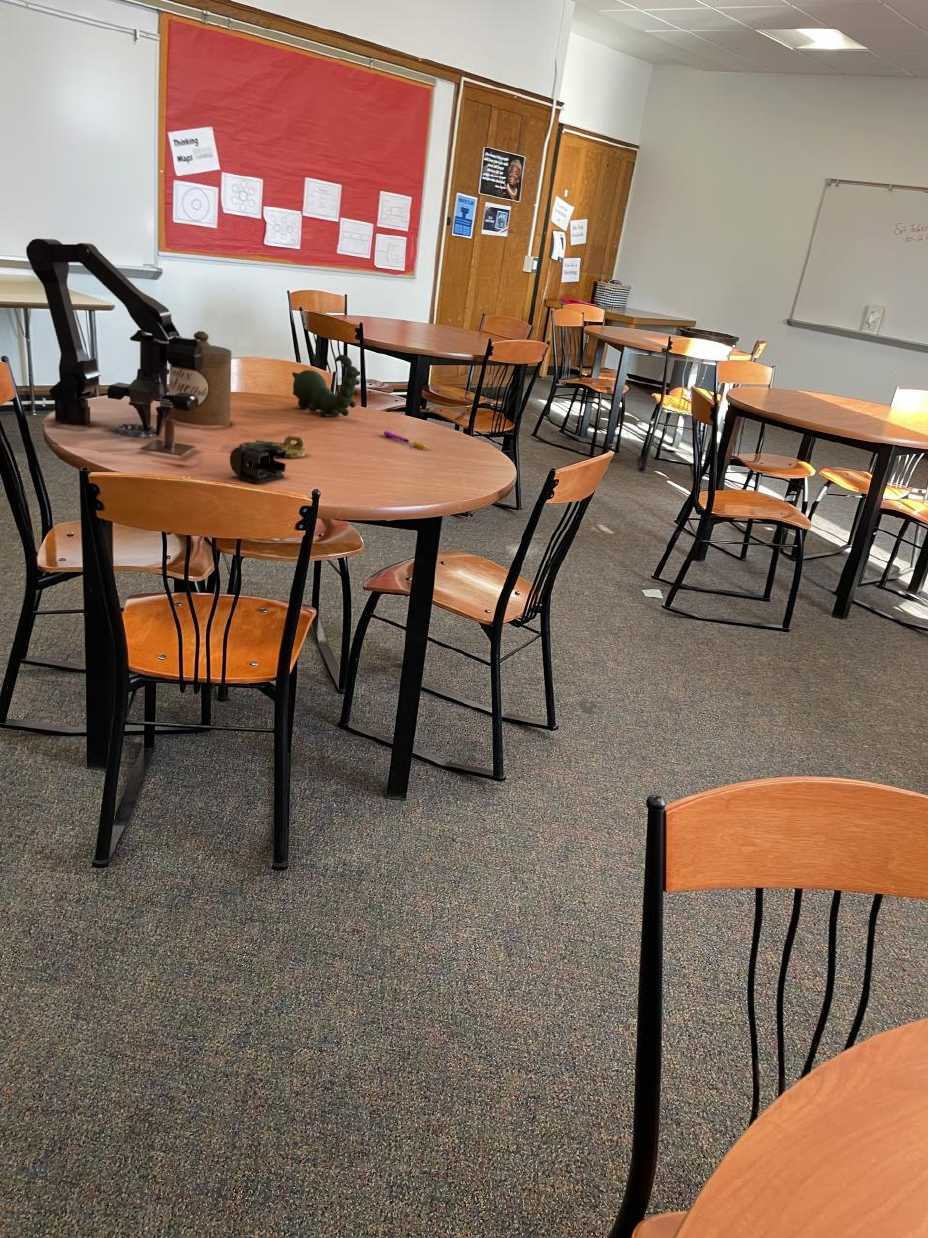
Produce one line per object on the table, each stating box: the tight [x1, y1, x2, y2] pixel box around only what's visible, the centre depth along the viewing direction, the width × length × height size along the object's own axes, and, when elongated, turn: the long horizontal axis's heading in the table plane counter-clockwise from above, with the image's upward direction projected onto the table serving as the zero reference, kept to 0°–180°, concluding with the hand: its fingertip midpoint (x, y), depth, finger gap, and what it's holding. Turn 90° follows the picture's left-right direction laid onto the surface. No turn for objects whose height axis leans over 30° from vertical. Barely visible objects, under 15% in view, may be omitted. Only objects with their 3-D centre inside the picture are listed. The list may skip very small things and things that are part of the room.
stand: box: [140, 417, 197, 457], centre depth 194 cm, size 9×9×7 cm
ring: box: [113, 423, 158, 439], centre depth 203 cm, size 10×10×2 cm
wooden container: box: [168, 330, 232, 427], centre depth 222 cm, size 15×15×22 cm
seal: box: [238, 435, 306, 459], centre depth 207 cm, size 9×5×15 cm
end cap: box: [229, 441, 287, 485], centre depth 186 cm, size 10×7×7 cm
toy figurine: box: [291, 354, 361, 418], centre depth 254 cm, size 9×19×25 cm
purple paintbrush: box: [383, 430, 429, 450], centre depth 239 cm, size 3×1×16 cm
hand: (153, 434), depth 203 cm, fingers closed
